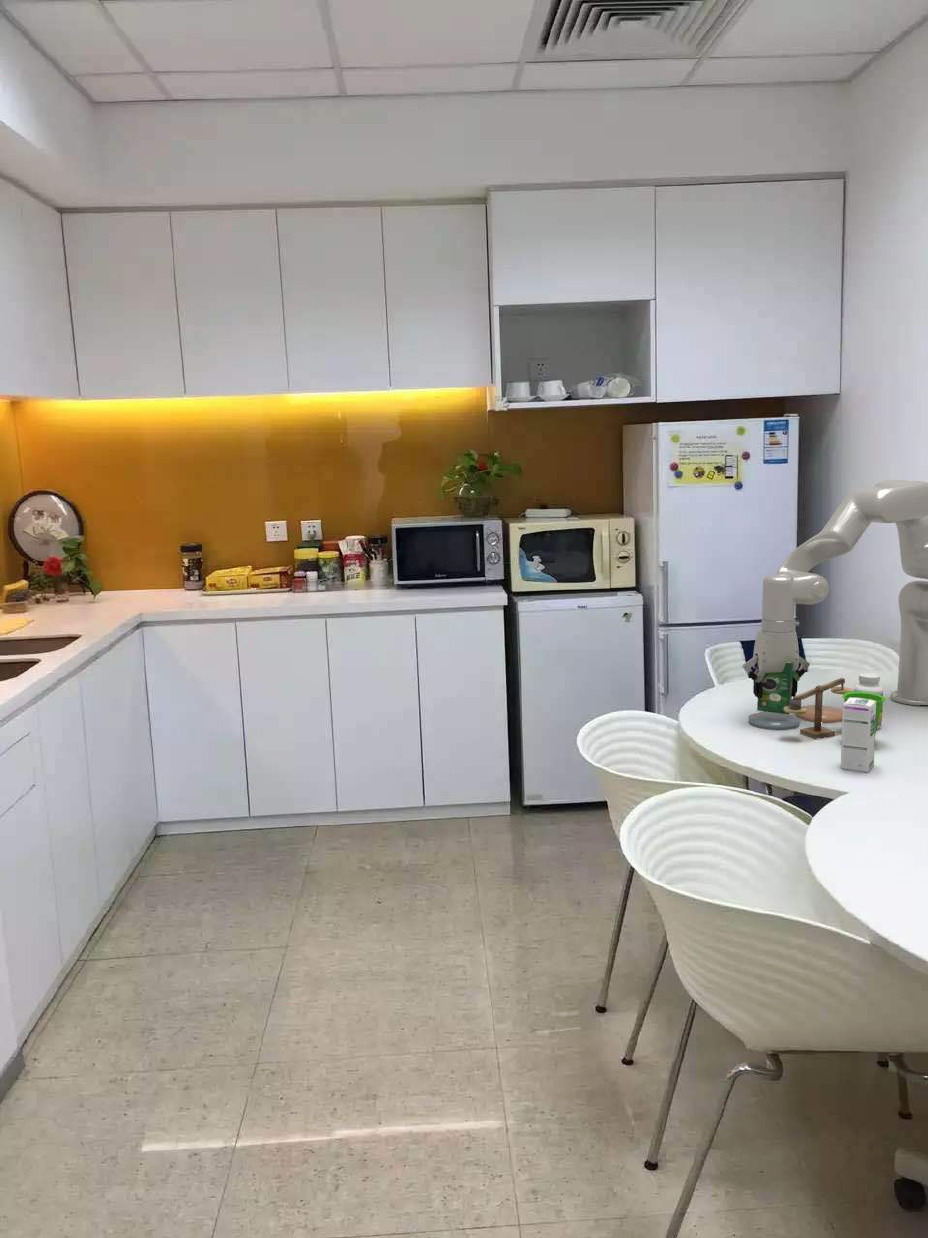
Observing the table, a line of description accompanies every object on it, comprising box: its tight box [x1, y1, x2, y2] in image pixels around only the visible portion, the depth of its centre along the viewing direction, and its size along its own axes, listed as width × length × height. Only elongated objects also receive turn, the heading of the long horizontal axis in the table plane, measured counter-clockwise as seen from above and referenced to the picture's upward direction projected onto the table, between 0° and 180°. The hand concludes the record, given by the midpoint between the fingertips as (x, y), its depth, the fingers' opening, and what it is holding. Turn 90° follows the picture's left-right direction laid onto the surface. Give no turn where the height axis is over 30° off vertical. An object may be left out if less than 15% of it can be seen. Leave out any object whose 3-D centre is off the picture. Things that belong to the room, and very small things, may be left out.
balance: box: [784, 677, 854, 740], centre depth 236 cm, size 19×5×13 cm, turn 112°
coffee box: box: [756, 662, 793, 715], centre depth 245 cm, size 8×3×13 cm, turn 62°
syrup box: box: [840, 697, 876, 773], centre depth 213 cm, size 6×6×14 cm
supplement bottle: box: [853, 672, 884, 730], centre depth 241 cm, size 7×7×13 cm
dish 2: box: [795, 704, 843, 724], centre depth 252 cm, size 12×12×1 cm
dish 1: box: [748, 711, 801, 731], centre depth 247 cm, size 12×12×1 cm
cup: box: [841, 692, 886, 736], centre depth 229 cm, size 9×9×11 cm
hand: (775, 696), depth 246 cm, fingers closed on coffee box, 7 cm apart
